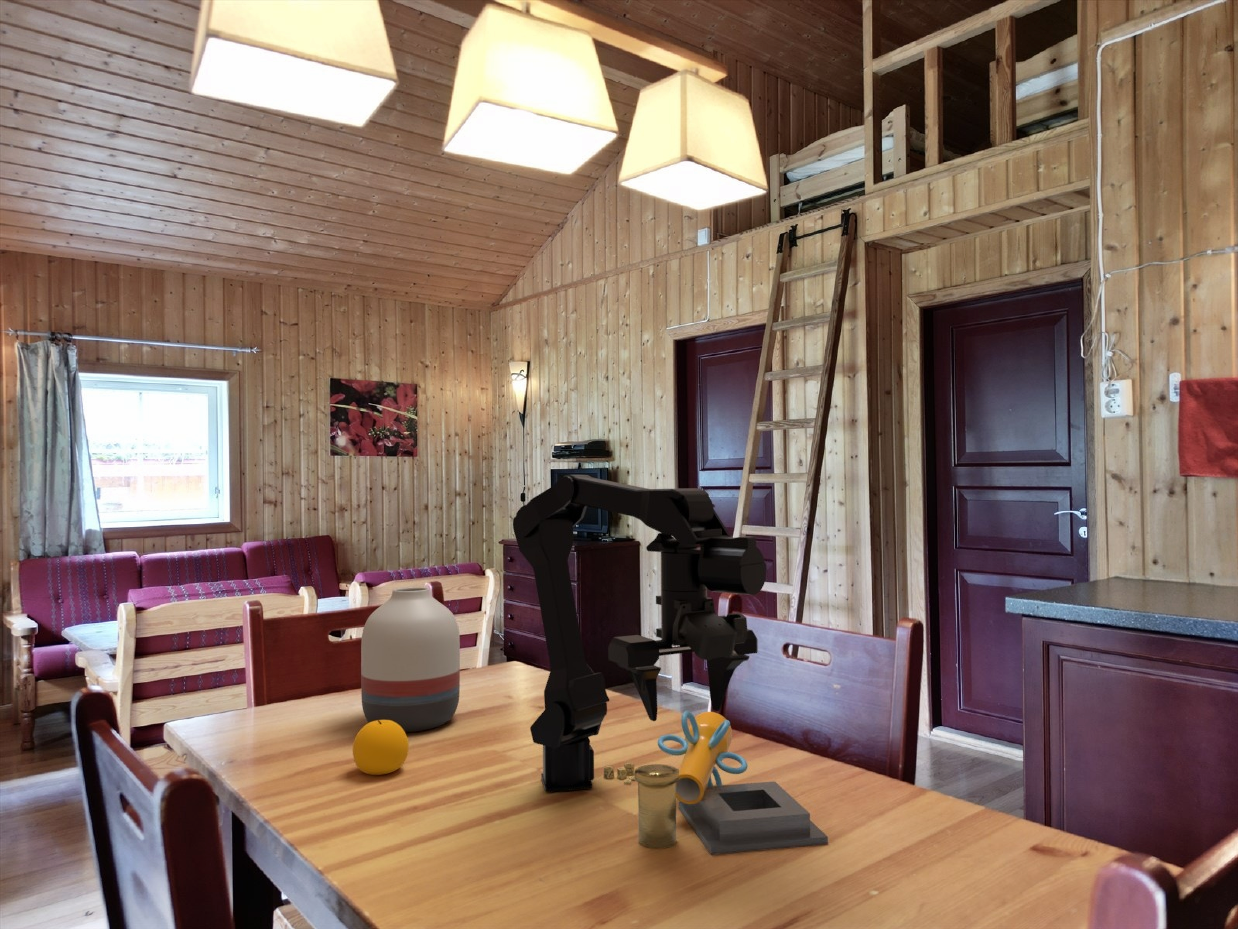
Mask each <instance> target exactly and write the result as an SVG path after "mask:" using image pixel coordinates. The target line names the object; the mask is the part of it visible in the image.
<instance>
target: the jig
mask: <svg viewBox="0 0 1238 929" xmlns="http://www.w3.org/2000/svg"><path fill="white" fill-rule="evenodd" d="M678 809H679V811H680V813H681V814H682V815H683V816H684V818H685V819H686V820H687V822H688V824H689V825H690V827H691V828H692V829H693V831H694V833H695V834H696V835H697V837H698V838H699V839H700V841H701V842H702V843H703V845H704V847H705V848H706V850H707V851H708V852H709V854H710V855H711V856H713V855H722V854H723V855H724V854H733V853H745V852H754V851H765V850H767V851H768V850H775V849H786V848H787V849H788V848H797V847H808V846H817V845H818V846H819V845H827V844H829V837H828V835H827V834H826V833H825V832H823V831H822V829H821V828H819V827H818V826H817V825H816V824H815V823H814V822H813V821H812V820H811V814H810V812H809V811H808V810H807V809H806V808H805V807H804V806H802V805H801V804H800V802H798V801H797V800H796V799H795V798H794V797H792V796H791V795H790V794H789V793H788V792H787V791H786V790H785V789H784V788H783V787H782V786H781V785H779V784H778V783H777V781H774V780H773V781H763V782H750V783H736V784H735V783H734V784H722V786H716V785H713V786H709V787H706V789H705V792H704V795H703V797H702V799H701V800H700V801H699V802H698V803H695V804H686V803H683V802H681V801H678Z"/></svg>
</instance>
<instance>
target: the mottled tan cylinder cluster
mask: <svg viewBox="0 0 1238 929" xmlns="http://www.w3.org/2000/svg"><path fill="white" fill-rule="evenodd" d="M623 764H624V765H623V766H620V767H617V768H616V779H619V780H623V784H624V785H632V782H635V781H636V780H635V764H634V763H633V762H625V763H623ZM627 776H628V778H627ZM603 778H605V779H607V780H608V779H613V778H615V767H614V766H611V765H607V766H604V767H603ZM636 782H637V781H636Z"/></svg>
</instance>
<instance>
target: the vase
mask: <svg viewBox="0 0 1238 929" xmlns="http://www.w3.org/2000/svg"><path fill="white" fill-rule="evenodd" d="M460 637H461V635H460V629H459V625H458V622H457V618H456V617H455V616H454V613H453V612H452V611H451V610H450V609H449V608H448V607H447V606H445V605H444V604H443V603H441V602H439V600H437V599H436V598H435V597H433V595H432V594H431V591H430V588H429V587H424V586H423V587H421V586H410V587H399V588H394V589H392V593H391V596H390V598H389V599H388V600H386V601H385V602H384V603H383V604H382V605H380V606H379V607H378V608H376V609H375V610H374V611H373V612H372V613H371V614H370V615H369V616H368V618H367V619H366V622H365V624H364V626H363V629H362V634H361V641H360V642H361V645H360V647H361V648H360V649H361V651H360V653H361V655H360V656H361V658H360V659H361V662H360V663H361V664H360V666H361V667H360V669H361V670H360V671H361V672H360V674H361V676H360V677H361V678H360V680H361V682H360V684H361V686H360V687H361V691H360V692H361V707H362V712H363V715H364V717H365V719H366V721H367V722H368V723H370V722H372V721H377V720H391V721H393V722H395V723H397V724H398V725H400V726H401V727H402V729H403V730H404V732H405V733H412V732H420V731H421V732H422V731H426V730H431V729H435V728H437V727H440V726H442V725H444V724H446V723H447V722H449V721H450V720H451V719H452V718H454V715H455V714H456V712H457V709H458V706H459V703H460V687H461V684H460V682H461V678H460V675H461V674H460V672H461V668H460V667H461V661H460V660H461V651H460V649H461V648H460V646H461V644H460V643H461V641H460Z"/></svg>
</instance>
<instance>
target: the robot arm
mask: <svg viewBox="0 0 1238 929" xmlns="http://www.w3.org/2000/svg"><path fill="white" fill-rule="evenodd" d="M713 504H714V503H713V501H712V499H711V497H710V495H709V493H708V492H707V491H705V490H704V489H701V488H648V487H647V488H646V487H642V486H636V485H632V484H626V483H620V482H616V481H611V480H606V479H600V478H595V477H593V476H590V475H588V474H566V475H564V476H562V477H560V478H559V479H558V480H557V481H556V482H555V483H554V484H553V485H552V486H551V487H549V488H548V489H546V490H544V491H542V492H541V493H539V494H537V495H536V496H534V497H532V498H531V499H530V500H529V501H528V502H527V503H526V504H524V505H522V506H521V507H520V508H519V509H518V510H517V512H516V514H515V516H514V517H513V520H512V529H513V533H514V536H515V540H516V543H517V547H518V549H519V552H520V554H521V555H522V556H523V557H524V558H525V560H526V561H527V562H528V564H529V565H530V566H531V567H532V569H533V574H534V581H535V585H536V591H537V592H536V593H537V596H538V602H539V609H540V615H541V619H542V620H541V621H542V625H543V632H544V637H545V643H546V647H547V648H546V649H547V653H548V654H547V655H548V659H549V660H548V661H549V665H550V671H549V674H548V678H547V681H546V684H545V687H544V690H543V699H544V710H543V711H542V712H541V713H540V715H539V716H538V717H537V718H536V720H534V722H533V723H532V724H531V726H530V727H529V729H530V733H531V737H532V742H533V743H534V744H537V745H541V746H542V773H541V775H540V776H541V777H540V778H541V781H542V785H543V788H544V791H545V792H547V793H552V792H564V791H579V790H590V789H591V790H592V789H593V786H594V785H593V782H592V781H593V780H594V779H595V751H594V749H593V746H592V745H591V743H590V741H591V740H590V738H589V737H592V736H598V735H599V733H600V730H601V725H602V722H603V721H604V720H605V717H606V716H607V714H608V702H610V698H609V696H608V693H607V690H606V679H605V676H604V673H603V672H602V671H601V672H596V673H595V672H594V671H593V669H592V668H591V667H590V666H589V664H588V663H587V661H586V657H585V656H586V655H585V651H584V645H583V640H582V634H581V629H580V625H579V624H580V623H579V617H578V613H577V606H576V602H575V597H574V590H573V585H572V579H571V575H570V569H569V562H568V561H569V558H570V555H571V553H572V549H573V547H574V543H575V541H574V540H575V539H574V528H575V527H576V526H577V525H578V524H579V523H580V521H582V520H583V519H584V517H585V514H586V511H587V508H588V507H589V508H593V509H598V510H602V511H607V512H610V513H611V512H612V513H615V514H620V515H625V516H628V517H632V518H633V517H634V518H635V519H637V520H639V521H641V522H642V523H643V524H644V525H645V526H646V527H647V528H650V529H652V530H655V531H657V532H658V533H657V535H656V536H655V538H654V539H653V540H651V542H650V543H649V544H648V545H647V546H646V547H645V548H646V549H645V550H646V551H647V552H650V553H651V552H653V553H655V552H656V553H660V595H655V604H656V605H659V606H660V608H661V610H660V613H661V614H660V615H661V617H660V618H661V619H660V620H661V622H660V625H661V626H660V627H659V628H656V630H655V632H656V633H655V634H656V635H655V637H657V638H659V639H658V640H655V639H652V638H649V637H645V636H641V635H639V634H635V635H623V636H614V637H613V638H612V639H611V641H610V643H609V645H608V648H607V649H608V651H607V652H608V653H607V654H608V655H607V656H608V657H607V658H608V661H611V662H613V663H616V664H617V665H618V667H620V668H622V669H624V670H626V671H627V673H628V675H629V677H630V678H631V680H632V682H633V684H634V686H635V688H636V690H637V692H638V695H639V697H640V699H641V702H642V705H643V707H644V709H645V712H646V714H647V717H648V719H649V720H650V721H652V722H656V721H657V718H658V689H657V688H658V684H657V679H658V676H659V674H660V673H661V670H662V667H660V666H658V665H656V663H657V662H658V661H659V660H660V656H661V657H663V656H669V655H670V656H671V655H678V654H688V653H694V654H695V656H696V657H697V658H699V659H701V660H705V661H706V664H707V667H706V668H707V676H708V677H707V678H708V686H709V687H708V688H709V696H710V697H709V699H710V703H711V708H712V710H713V711H715V712H720V711H721V708H722V705H723V702H724V699H725V696H726V693H727V690H728V688H729V684H730V681H731V679H732V677H733V674H734V672H735V670H736V669H737V668H738V666H740V665H742V663H744V662H746V661H749V659H750V656H749V655H753V654H757V653H758V652H759V650H758V649H759V648H758V647H759V646H758V645H759V643H758V642H759V640H758V637H757V635H756V634H755V632H754V631H753V630H752V629H749V628H748V622H747V620H748V619H747V617H746V616H745V614H743V613H741V612H734V613H733V612H732V613H728V614H727V615H718V614H716V611H715V603H714V597H713V598H712V597H708V591H710V592H714V593H726V594H736V595H748V596H756V595H757V594H759V593H760V592H761V591H762V589H763V587H764V585H765V583H766V579H767V563H766V562H765V558H764V555H763V553H762V551H761V549H760V548H758V546H757V537H756V536H750V535H749V536H737V537H732V536H731V533H729V531H728V529H727V528H726V526H725V525H724V523H723V521H722V520H721V518H720V517H719V515H718V513H717V512H716V510H715V508H714V505H713ZM698 545H699V546H698Z"/></svg>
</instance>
